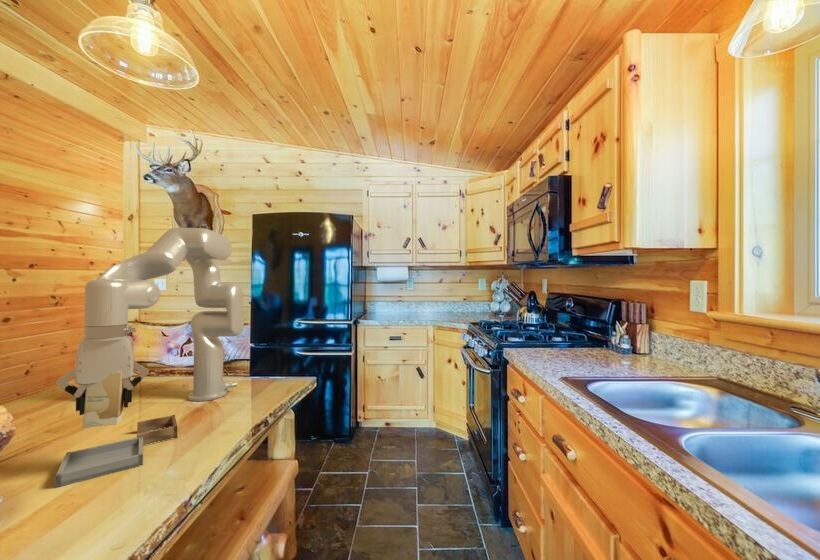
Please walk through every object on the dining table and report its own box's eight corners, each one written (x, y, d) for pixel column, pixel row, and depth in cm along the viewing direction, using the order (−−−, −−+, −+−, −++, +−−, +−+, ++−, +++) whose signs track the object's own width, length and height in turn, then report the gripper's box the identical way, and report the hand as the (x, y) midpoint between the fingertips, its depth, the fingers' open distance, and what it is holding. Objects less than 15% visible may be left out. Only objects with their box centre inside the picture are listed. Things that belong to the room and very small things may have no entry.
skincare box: (81, 429, 74) (84, 373, 75) (89, 422, 78) (91, 369, 78) (119, 424, 77) (121, 371, 78) (124, 417, 81) (126, 367, 82)
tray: (142, 445, 87) (143, 436, 87) (142, 465, 77) (142, 454, 77) (66, 463, 78) (66, 452, 78) (55, 487, 69) (55, 476, 69)
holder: (174, 424, 99) (174, 414, 99) (177, 437, 91) (177, 426, 91) (137, 432, 94) (137, 422, 94) (136, 447, 86) (136, 435, 86)
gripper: (153, 328, 86) (151, 397, 86) (56, 334, 76) (54, 413, 75) (153, 331, 81) (152, 405, 80) (48, 338, 70) (46, 424, 70)
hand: (104, 408), depth 78 cm, fingers closed on skincare box, 6 cm apart
